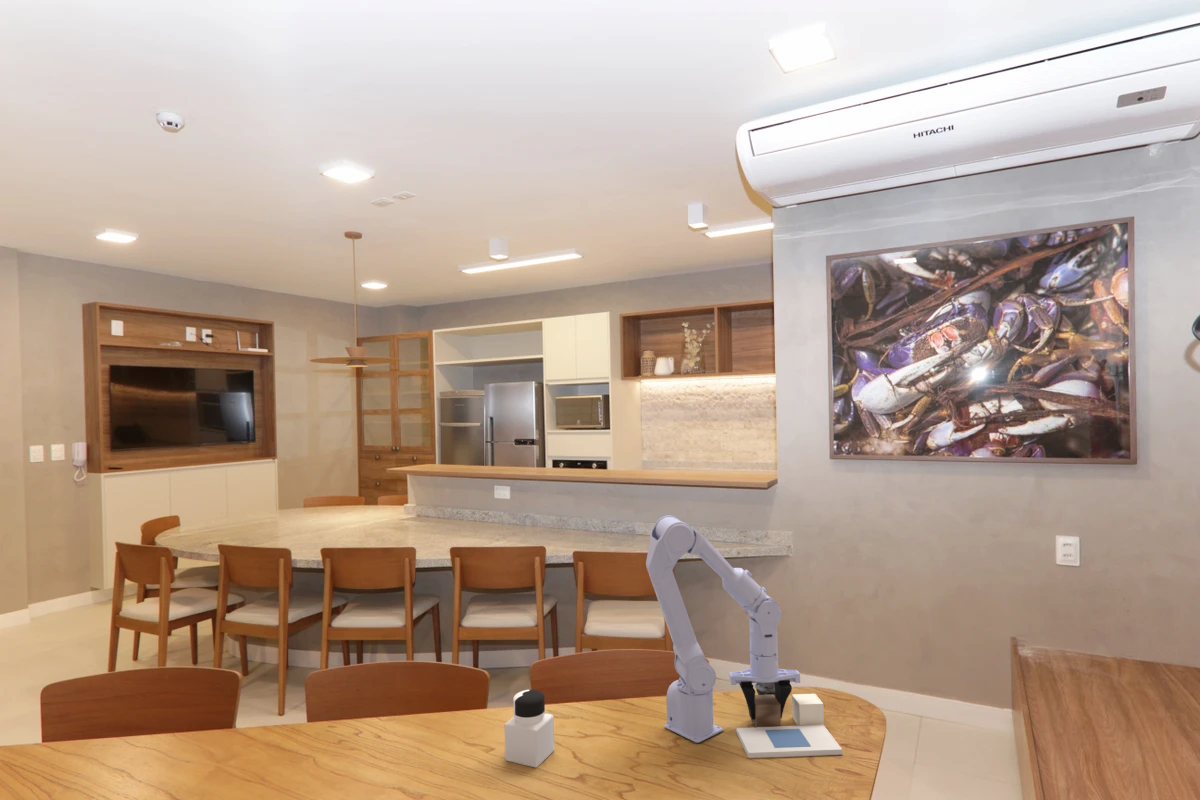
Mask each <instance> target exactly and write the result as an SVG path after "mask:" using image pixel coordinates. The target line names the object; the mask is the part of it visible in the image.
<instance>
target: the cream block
mask: <svg viewBox="0 0 1200 800" xmlns="http://www.w3.org/2000/svg"><path fill="white" fill-rule="evenodd" d="M791 704H792V705H791V707H792V719H793V720H794V722H795V723H796V726H806V725H824V726H825V714H824V713H825V712H824V711H825V710H824V706H825V705H824V703H823V702H822V700H821V699H820V698H819V697H818V695H817V694H816V693H795V694H793V693H792V694H791Z"/></svg>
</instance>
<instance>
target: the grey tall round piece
mask: <svg viewBox="0 0 1200 800" xmlns="http://www.w3.org/2000/svg"><path fill="white" fill-rule="evenodd" d="M754 689H756V690H755V691H756V693H757V695H773V694H774V696H775V686H774V682H768V683H754Z"/></svg>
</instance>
